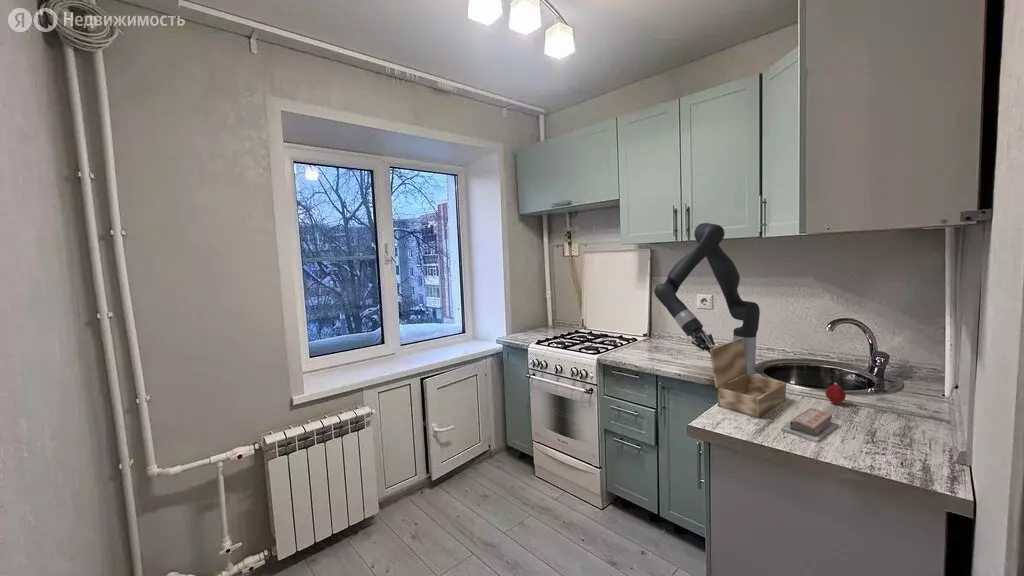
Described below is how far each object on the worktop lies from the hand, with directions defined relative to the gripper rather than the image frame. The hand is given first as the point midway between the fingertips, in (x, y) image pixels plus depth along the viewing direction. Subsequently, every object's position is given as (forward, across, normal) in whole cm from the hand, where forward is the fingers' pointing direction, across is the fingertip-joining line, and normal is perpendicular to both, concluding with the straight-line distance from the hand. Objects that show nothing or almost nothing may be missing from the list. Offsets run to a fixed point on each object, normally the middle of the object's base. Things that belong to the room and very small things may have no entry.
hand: (716, 356), depth 162 cm
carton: (+20, 0, +1) cm, 20 cm away
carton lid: (+5, 0, -3) cm, 5 cm away
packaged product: (+36, -8, -13) cm, 39 cm away
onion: (+34, +22, -13) cm, 43 cm away
